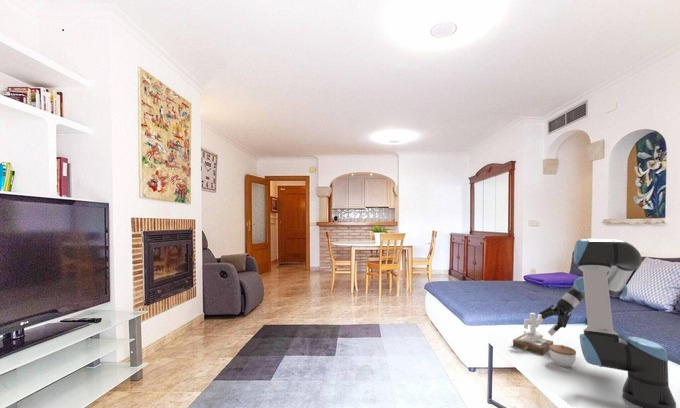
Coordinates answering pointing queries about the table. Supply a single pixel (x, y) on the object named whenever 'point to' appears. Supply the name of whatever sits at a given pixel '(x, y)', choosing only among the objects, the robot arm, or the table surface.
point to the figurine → (533, 327)
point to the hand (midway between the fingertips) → (541, 329)
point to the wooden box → (532, 344)
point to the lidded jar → (563, 355)
